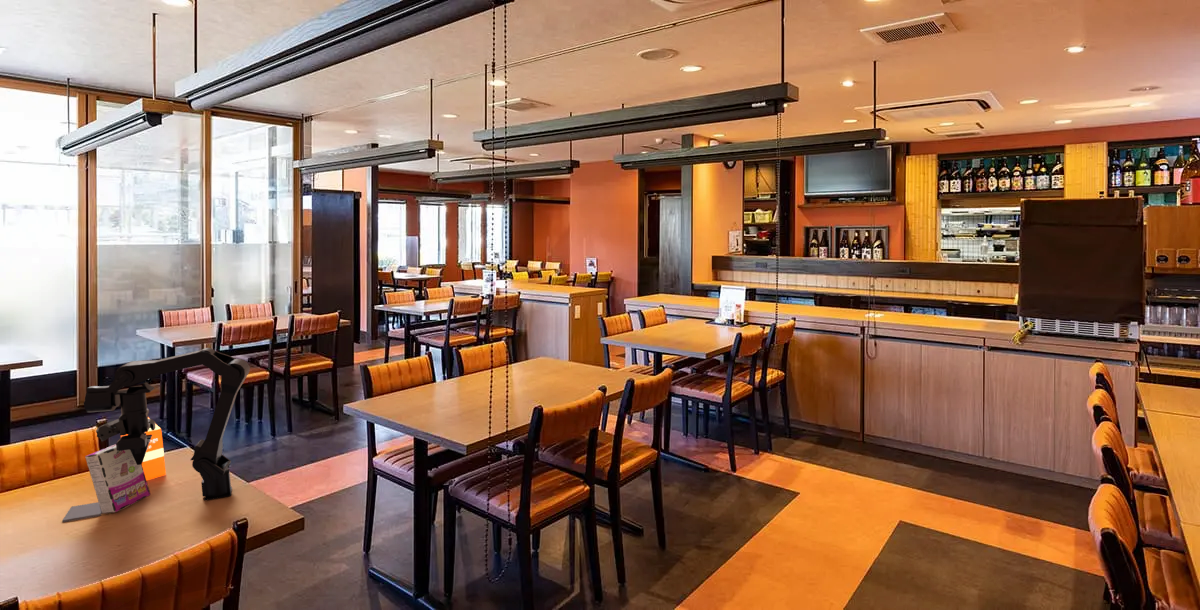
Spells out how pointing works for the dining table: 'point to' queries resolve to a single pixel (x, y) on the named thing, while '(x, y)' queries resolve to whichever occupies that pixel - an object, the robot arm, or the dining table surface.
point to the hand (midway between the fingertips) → (139, 464)
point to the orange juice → (154, 455)
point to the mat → (83, 512)
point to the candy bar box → (116, 479)
